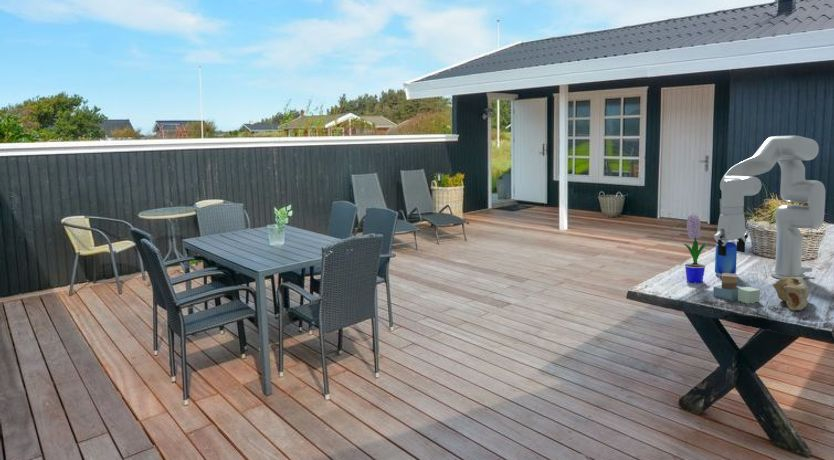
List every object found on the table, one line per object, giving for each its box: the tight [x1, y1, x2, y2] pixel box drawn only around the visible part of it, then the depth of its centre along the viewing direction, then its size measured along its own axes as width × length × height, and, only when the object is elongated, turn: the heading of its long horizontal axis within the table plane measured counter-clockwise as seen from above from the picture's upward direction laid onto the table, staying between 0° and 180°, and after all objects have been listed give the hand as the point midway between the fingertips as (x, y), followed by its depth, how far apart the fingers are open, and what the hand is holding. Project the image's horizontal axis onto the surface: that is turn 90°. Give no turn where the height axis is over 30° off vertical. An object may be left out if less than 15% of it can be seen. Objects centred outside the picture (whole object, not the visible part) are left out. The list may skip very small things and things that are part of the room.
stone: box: [772, 277, 810, 311], centre depth 208 cm, size 17×12×10 cm
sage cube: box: [737, 286, 761, 305], centre depth 215 cm, size 5×5×5 cm
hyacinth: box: [683, 213, 711, 284], centre depth 245 cm, size 9×10×30 cm
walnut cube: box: [721, 273, 738, 289], centre depth 223 cm, size 5×5×5 cm
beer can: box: [714, 239, 738, 277], centre depth 254 cm, size 8×8×16 cm
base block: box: [712, 284, 744, 301], centre depth 223 cm, size 8×8×4 cm
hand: (731, 253), depth 221 cm, fingers open, 9 cm apart
